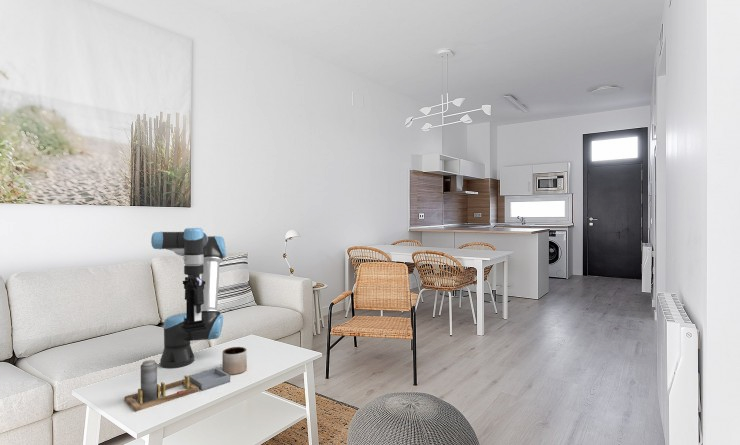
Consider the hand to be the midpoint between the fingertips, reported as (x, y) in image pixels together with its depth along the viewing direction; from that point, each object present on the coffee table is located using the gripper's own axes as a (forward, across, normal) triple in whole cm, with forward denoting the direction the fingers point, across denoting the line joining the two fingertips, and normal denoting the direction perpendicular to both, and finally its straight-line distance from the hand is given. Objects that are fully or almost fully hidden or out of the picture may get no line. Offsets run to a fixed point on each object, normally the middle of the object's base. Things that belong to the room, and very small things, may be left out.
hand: (194, 318), depth 171 cm
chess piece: (+4, 0, 0) cm, 4 cm away
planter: (+29, -4, +20) cm, 36 cm away
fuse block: (+29, 0, -13) cm, 32 cm away
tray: (+29, 0, +6) cm, 29 cm away
